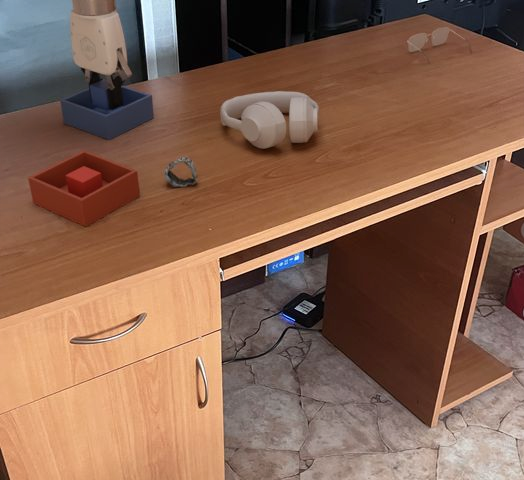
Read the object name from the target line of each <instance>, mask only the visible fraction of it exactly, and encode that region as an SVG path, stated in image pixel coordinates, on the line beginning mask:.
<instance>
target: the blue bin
mask: <svg viewBox="0 0 524 480" xmlns="http://www.w3.org/2000/svg"><path fill="white" fill-rule="evenodd" d="M121 89H122V97H123V105H122V106H121V107H118V108H116V109H114V110H108V111H107V110H104V109H101V108H98V107H95V106H93V104H92V103H91V97H90V90H89V87H88V88H86V89H83V90H81V91H79V92H76V93H73V94H71V95H69V96H67V97H65V98H62V99H60V100H59V102H60V107H61V114H62V119H63V124H65V125H68V126H70V127H73V128H75V129H78V130H82V131H84V132H86V133H89V134H92V135H95V136H97V137H99V138H102V139H105V140H108V141H110V140H112V139H114V138H116V137H118V136H120V135H122V134H124V133H126V132H128V131H130V130H132V129H134V128H136V127H139V126H141V125H143V124H144V123H146V122H149V121H151V120H153V119H154V118H155V115H154V104H153V95H152V94H149V93H147V92H143V91H140V90H137V89H134V88H131V87H128V86H125V85H122V86H121Z"/></svg>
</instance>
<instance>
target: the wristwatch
mask: <svg viewBox="0 0 524 480" xmlns="http://www.w3.org/2000/svg"><path fill="white" fill-rule="evenodd" d="M180 163H184V164H185V165H186V166H187V167H188V168H189V170H190V172H191V176H192V177H188V178H185V179H184V178H180V177H179V176H177V175H176V174H175V173H174V172H173V171H171V170H172V169H174V168H175V167H176V166H177V165H179V164H180ZM164 179H165V180H166V181H167V182H168V183H169V184H170V185H171V186H172V187H175V188H176V187H180V188H183V187H187V186H188V185H192V186H193V185H195V184H196V183H197V181H198V174H197V167H196V164H195V162H194V161H193V159H191V158H189V157H188V156H187V155H184V156H180V157H178V158H177V159H176V160H174V161H171V162H169V163H168V164H167V166H166V168H165V169H164Z"/></svg>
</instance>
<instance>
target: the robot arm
mask: <svg viewBox="0 0 524 480" xmlns="http://www.w3.org/2000/svg"><path fill="white" fill-rule="evenodd" d="M71 4H72V9H71V10H70V23H69V24H70V26H69V27H70V28H69V29H70V42H71V52H72V58H73V62H74V64H75V65H76V66H78V67H79V68H80V70H81V71H82V73H83V75H84V76H85V77H84V78H85V79H84V80H85V81H86V82H87V83H88V88H89V90H90V85H92V84H94V83H96V82H99V81H101V80H103V78H102V77H101V75H102V76H103V75H104V76H105V79H107V82H108V86H109V89H107V95H108V103H109V109H110V110H114V109H116V108H118V107H121V106H122V105H123V97H122V89H121V86H124V83H125V82H126V81H127V80H129V78H131V77H133V73H132V71H131V69H130V67H129V65H128V52H127V46H126V40H125V35H124V30H123V26H122V22H121V18H120V15H119V13H118V12H117V1H116V0H71ZM113 75H114V77H113ZM90 97H91V90H90ZM91 103H92V97H91Z"/></svg>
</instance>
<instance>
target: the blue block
mask: <svg viewBox="0 0 524 480" xmlns="http://www.w3.org/2000/svg"><path fill="white" fill-rule="evenodd" d="M102 79H103V78H102ZM107 89H109V86H108V82H107V78H104V79H103V80H101V81H99V82H96V83H94V84H92V85H90V90H91V97H92V104H93V106H95V107H98V108H101V109H104V110H107V111H108V110H110V109H109V103H108V95H107Z"/></svg>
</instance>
